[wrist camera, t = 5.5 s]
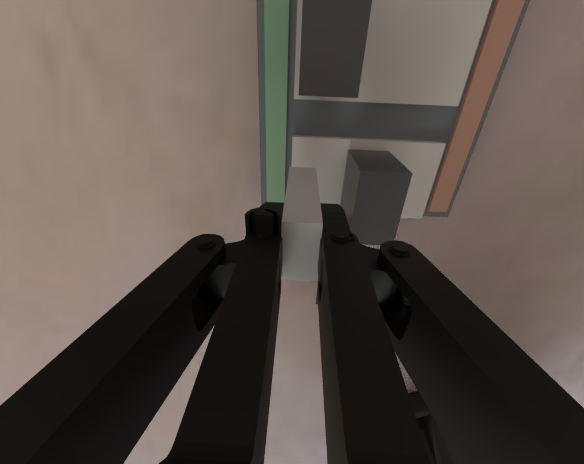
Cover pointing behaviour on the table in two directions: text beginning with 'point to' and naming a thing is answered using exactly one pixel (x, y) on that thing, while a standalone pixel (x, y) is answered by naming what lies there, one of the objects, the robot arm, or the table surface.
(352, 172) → the block
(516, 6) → the panel
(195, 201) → the table surface
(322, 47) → the block
